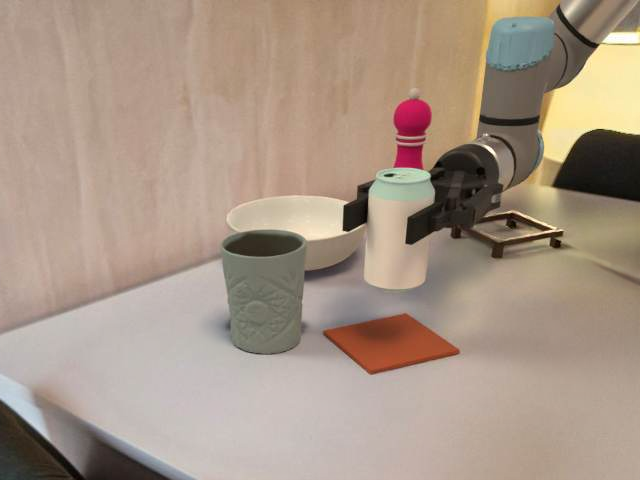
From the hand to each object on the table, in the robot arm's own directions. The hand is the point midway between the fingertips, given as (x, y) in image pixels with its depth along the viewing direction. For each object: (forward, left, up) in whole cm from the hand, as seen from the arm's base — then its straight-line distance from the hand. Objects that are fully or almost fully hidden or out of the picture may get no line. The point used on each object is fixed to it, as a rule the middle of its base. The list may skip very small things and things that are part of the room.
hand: (377, 224), depth 81 cm
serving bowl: (+33, -6, -16) cm, 37 cm away
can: (+2, -4, -8) cm, 10 cm away
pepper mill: (+43, -31, -16) cm, 56 cm away
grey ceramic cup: (+10, +9, -16) cm, 21 cm away
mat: (+2, -4, -15) cm, 16 cm away
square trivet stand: (+26, -39, -15) cm, 50 cm away
